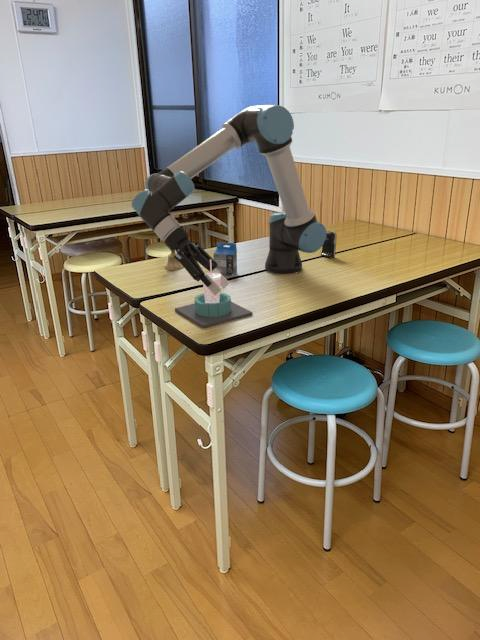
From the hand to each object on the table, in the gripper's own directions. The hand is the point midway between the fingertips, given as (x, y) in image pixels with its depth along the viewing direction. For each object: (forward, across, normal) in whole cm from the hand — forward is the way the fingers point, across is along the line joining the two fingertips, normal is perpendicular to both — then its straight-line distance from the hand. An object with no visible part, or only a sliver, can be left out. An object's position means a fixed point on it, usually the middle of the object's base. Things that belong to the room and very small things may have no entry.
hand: (222, 289), depth 153 cm
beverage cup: (+1, 0, -6) cm, 6 cm away
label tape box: (-5, -42, -18) cm, 45 cm away
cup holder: (+3, 0, -8) cm, 9 cm away
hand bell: (-22, -44, -35) cm, 60 cm away
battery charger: (+18, -78, +6) cm, 81 cm away
